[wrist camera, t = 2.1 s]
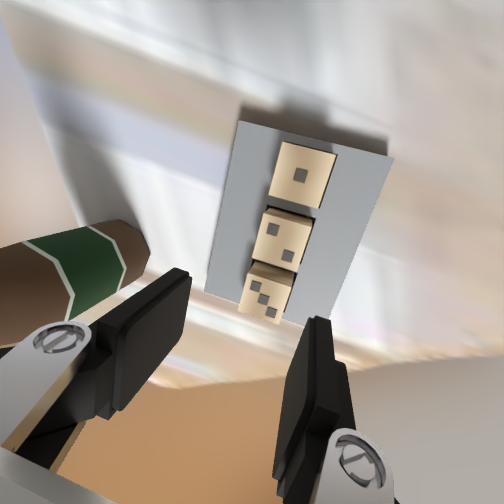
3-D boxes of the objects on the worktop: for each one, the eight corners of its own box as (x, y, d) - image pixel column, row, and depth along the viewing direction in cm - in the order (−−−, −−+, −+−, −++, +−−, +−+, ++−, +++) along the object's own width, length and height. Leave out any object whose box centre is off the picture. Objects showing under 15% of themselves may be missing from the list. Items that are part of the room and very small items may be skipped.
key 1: (332, 157, 22) (336, 154, 19) (317, 203, 23) (318, 208, 20) (287, 145, 23) (282, 141, 19) (274, 191, 24) (268, 195, 20)
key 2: (312, 219, 24) (311, 227, 20) (299, 258, 25) (296, 272, 22) (270, 207, 24) (263, 213, 21) (259, 246, 26) (251, 258, 22)
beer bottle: (126, 291, 33) (-270, 542, 11) (84, 243, 32) (-434, 405, 10) (164, 256, 30) (-259, 499, 8) (119, 203, 30) (-486, 305, 7)
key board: (387, 159, 22) (394, 158, 20) (322, 321, 28) (322, 332, 26) (244, 123, 24) (238, 119, 22) (210, 283, 30) (203, 291, 28)
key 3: (294, 272, 26) (291, 287, 22) (283, 306, 27) (278, 325, 24) (256, 260, 26) (247, 273, 23) (247, 293, 28) (237, 311, 24)
